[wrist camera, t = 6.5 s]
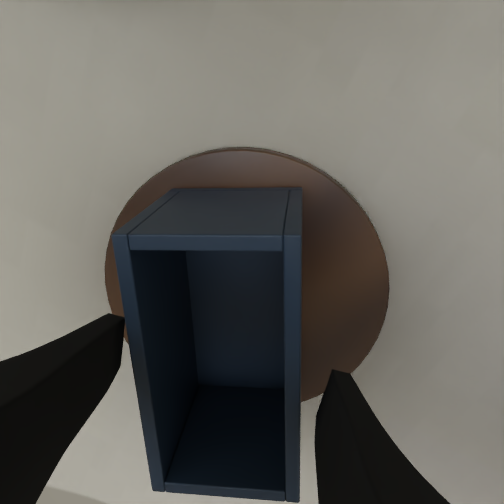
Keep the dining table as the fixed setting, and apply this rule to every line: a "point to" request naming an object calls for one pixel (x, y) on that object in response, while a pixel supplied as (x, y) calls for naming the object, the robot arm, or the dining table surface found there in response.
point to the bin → (217, 338)
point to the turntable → (313, 253)
